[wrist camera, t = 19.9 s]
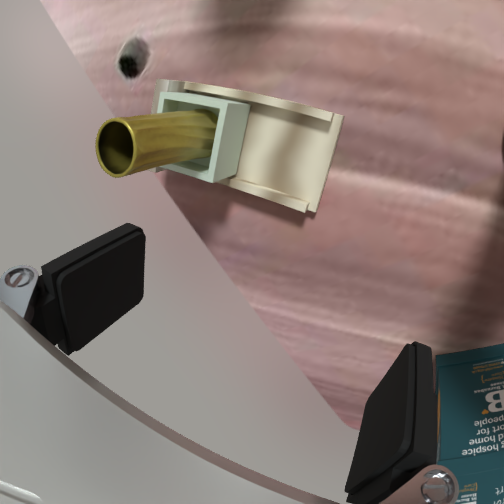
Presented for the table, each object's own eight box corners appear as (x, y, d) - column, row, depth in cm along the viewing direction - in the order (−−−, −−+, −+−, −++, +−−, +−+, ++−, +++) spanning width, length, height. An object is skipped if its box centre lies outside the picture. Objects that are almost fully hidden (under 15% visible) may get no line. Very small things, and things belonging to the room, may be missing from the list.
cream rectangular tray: (344, 116, 34) (336, 114, 28) (317, 209, 39) (305, 224, 34) (184, 81, 39) (156, 78, 34) (170, 161, 45) (144, 169, 40)
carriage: (250, 104, 36) (227, 103, 31) (236, 173, 40) (212, 183, 35) (188, 93, 38) (160, 91, 33) (178, 156, 42) (150, 163, 37)
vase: (194, 166, 39) (110, 194, 26) (172, 125, 37) (83, 138, 25) (232, 142, 35) (151, 160, 23) (208, 98, 34) (120, 98, 22)
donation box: (530, 336, 32) (575, 500, 8) (514, 407, 36) (525, 547, 13) (435, 355, 40) (428, 537, 16) (433, 422, 44) (415, 567, 20)
